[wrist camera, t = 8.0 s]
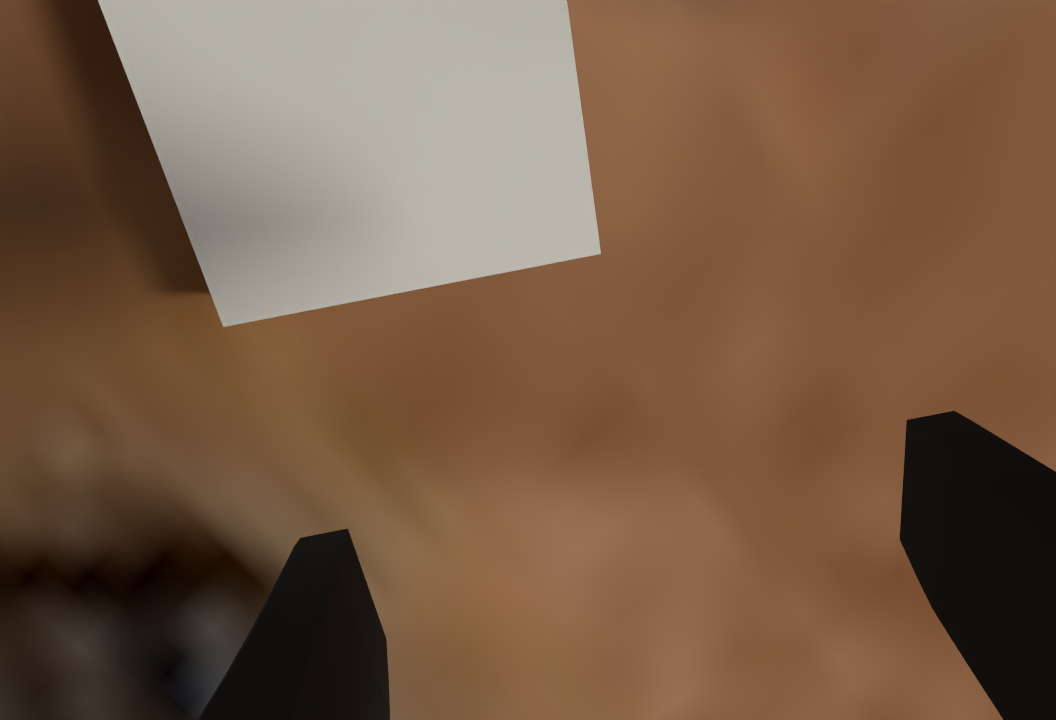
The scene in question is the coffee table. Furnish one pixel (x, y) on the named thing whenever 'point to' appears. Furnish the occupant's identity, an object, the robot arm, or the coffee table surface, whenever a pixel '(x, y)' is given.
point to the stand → (361, 142)
